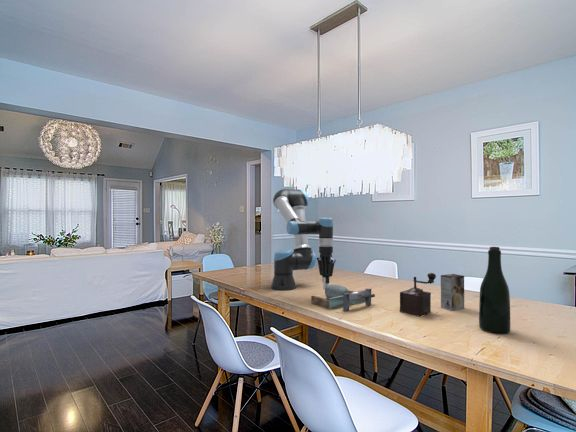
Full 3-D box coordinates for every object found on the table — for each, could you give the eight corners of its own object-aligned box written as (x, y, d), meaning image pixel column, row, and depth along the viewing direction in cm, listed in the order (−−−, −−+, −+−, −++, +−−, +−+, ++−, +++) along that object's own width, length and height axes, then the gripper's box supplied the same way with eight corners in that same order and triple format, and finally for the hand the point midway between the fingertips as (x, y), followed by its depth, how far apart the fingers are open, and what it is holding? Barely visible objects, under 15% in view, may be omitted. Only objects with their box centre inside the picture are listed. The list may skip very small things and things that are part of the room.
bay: (311, 302, 167) (311, 293, 167) (345, 295, 182) (345, 286, 182) (330, 309, 155) (330, 298, 155) (365, 300, 170) (365, 291, 170)
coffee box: (453, 305, 163) (453, 273, 162) (464, 308, 157) (464, 275, 157) (440, 307, 159) (440, 274, 159) (451, 311, 153) (451, 277, 153)
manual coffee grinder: (421, 317, 143) (421, 276, 143) (399, 311, 152) (399, 273, 152) (437, 310, 153) (438, 273, 153) (415, 305, 162) (416, 269, 162)
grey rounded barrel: (355, 294, 170) (346, 279, 168) (346, 306, 164) (337, 290, 162) (336, 296, 180) (327, 281, 178) (327, 307, 174) (318, 292, 172)
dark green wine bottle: (515, 331, 126) (515, 247, 126) (502, 336, 120) (502, 248, 120) (487, 323, 135) (487, 245, 135) (473, 328, 129) (474, 246, 129)
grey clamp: (342, 309, 154) (342, 293, 154) (370, 302, 167) (370, 287, 167) (347, 311, 151) (347, 294, 151) (376, 304, 164) (376, 288, 164)
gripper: (312, 245, 179) (312, 287, 179) (329, 247, 169) (329, 292, 169) (322, 244, 184) (322, 285, 184) (339, 246, 173) (339, 290, 173)
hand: (325, 288), depth 176 cm, fingers closed
